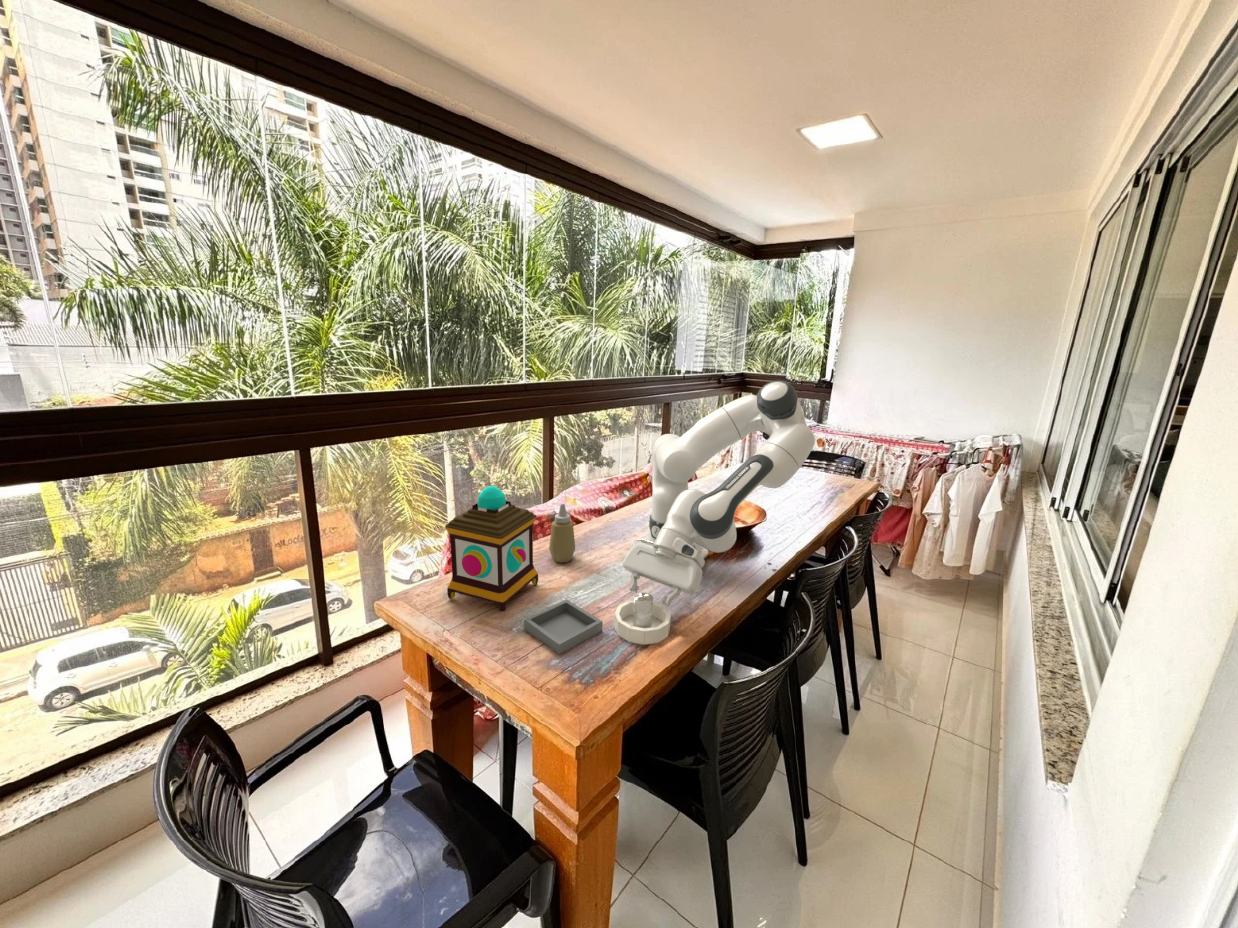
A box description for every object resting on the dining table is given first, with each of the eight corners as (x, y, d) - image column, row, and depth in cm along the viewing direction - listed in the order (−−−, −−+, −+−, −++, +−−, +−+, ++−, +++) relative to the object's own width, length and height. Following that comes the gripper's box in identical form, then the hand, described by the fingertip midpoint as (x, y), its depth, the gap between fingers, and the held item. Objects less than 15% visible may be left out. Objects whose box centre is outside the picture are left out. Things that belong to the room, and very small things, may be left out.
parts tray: (566, 611, 127) (566, 599, 126) (602, 634, 118) (602, 621, 117) (524, 632, 117) (523, 619, 117) (559, 658, 109) (559, 644, 108)
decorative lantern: (486, 568, 147) (482, 470, 139) (545, 582, 140) (545, 481, 132) (439, 601, 129) (432, 491, 121) (504, 619, 122) (501, 504, 114)
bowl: (639, 609, 129) (640, 594, 127) (679, 631, 120) (681, 615, 119) (603, 629, 120) (604, 613, 118) (644, 655, 111) (645, 637, 110)
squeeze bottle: (557, 567, 149) (557, 510, 144) (544, 556, 156) (544, 502, 151) (580, 560, 154) (581, 506, 149) (566, 550, 160) (567, 498, 155)
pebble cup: (641, 619, 123) (642, 587, 120) (655, 627, 120) (657, 594, 117) (628, 626, 119) (630, 593, 117) (642, 635, 116) (644, 601, 114)
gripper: (632, 531, 129) (609, 579, 124) (704, 553, 118) (681, 608, 112) (641, 541, 134) (618, 588, 129) (711, 564, 122) (689, 616, 117)
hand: (648, 597), depth 120 cm, fingers open, 8 cm apart
